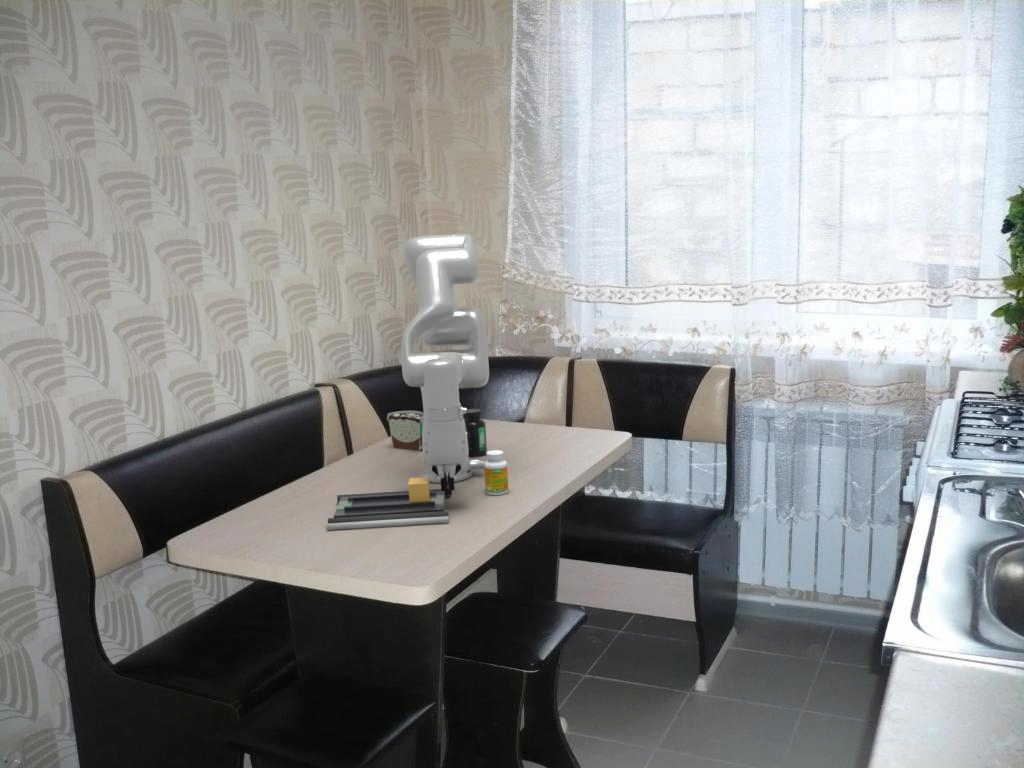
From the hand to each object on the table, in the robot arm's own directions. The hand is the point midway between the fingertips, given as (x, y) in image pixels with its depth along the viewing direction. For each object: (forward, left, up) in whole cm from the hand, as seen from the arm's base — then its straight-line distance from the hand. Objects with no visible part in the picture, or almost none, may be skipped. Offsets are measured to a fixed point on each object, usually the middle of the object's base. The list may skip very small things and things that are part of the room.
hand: (448, 493), depth 237 cm
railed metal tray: (+13, 0, -3) cm, 13 cm away
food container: (+11, -57, -4) cm, 58 cm away
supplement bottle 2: (-11, -10, -4) cm, 15 cm away
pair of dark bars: (+13, 0, -3) cm, 13 cm away
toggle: (+6, 0, -1) cm, 6 cm away
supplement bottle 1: (-6, -46, -4) cm, 47 cm away
